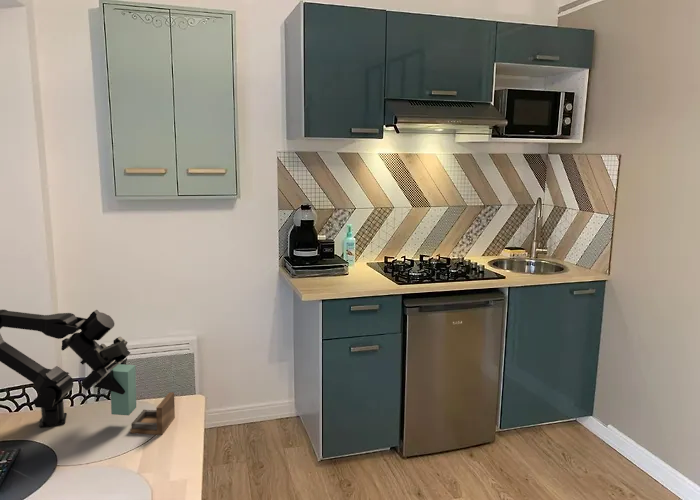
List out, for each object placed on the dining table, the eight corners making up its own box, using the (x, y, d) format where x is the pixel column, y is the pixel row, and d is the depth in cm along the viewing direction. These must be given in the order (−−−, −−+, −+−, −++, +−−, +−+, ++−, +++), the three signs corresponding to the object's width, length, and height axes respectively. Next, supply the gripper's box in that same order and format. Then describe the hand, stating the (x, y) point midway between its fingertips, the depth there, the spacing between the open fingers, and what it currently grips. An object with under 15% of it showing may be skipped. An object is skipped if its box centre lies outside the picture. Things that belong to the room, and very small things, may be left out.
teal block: (111, 414, 153) (110, 370, 151) (119, 406, 158) (118, 364, 156) (128, 415, 153) (127, 372, 151) (136, 407, 158) (135, 365, 156)
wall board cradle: (130, 433, 152) (129, 406, 150) (144, 416, 161) (144, 391, 160) (162, 434, 151) (161, 408, 150) (174, 417, 161) (174, 392, 160)
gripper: (91, 343, 143) (133, 385, 144) (123, 322, 161) (160, 359, 163) (63, 369, 144) (105, 411, 146) (97, 345, 163) (134, 382, 164)
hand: (128, 389), depth 155 cm, fingers closed on teal block, 5 cm apart
